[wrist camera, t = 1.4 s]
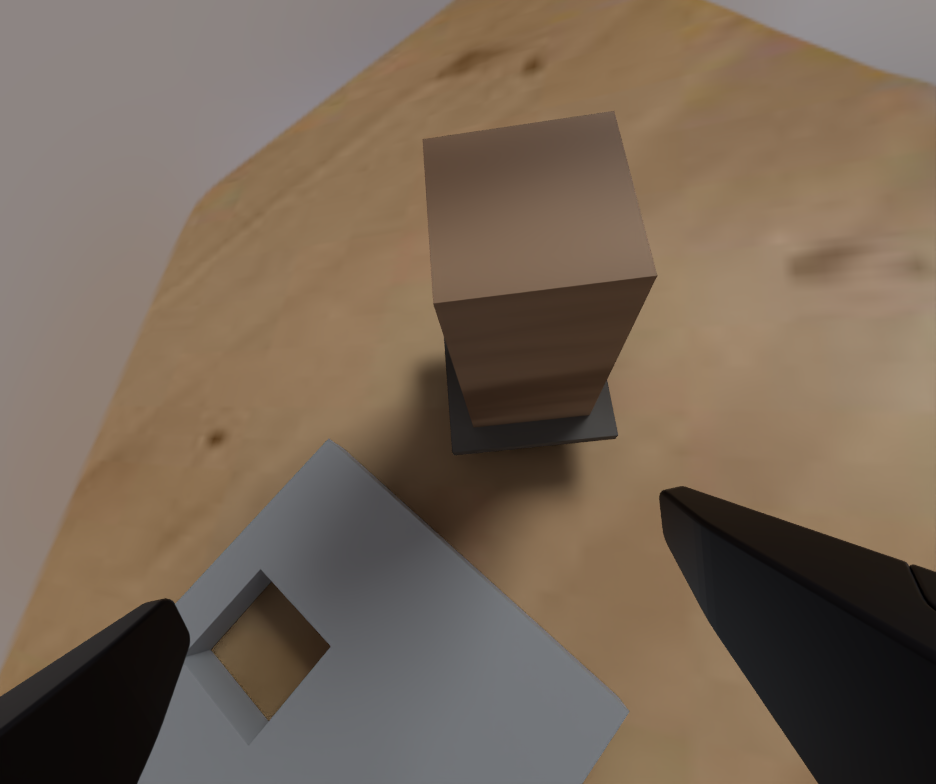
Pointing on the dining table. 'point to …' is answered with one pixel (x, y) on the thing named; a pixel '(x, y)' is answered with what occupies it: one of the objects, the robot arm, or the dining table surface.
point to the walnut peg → (534, 278)
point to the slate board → (377, 657)
